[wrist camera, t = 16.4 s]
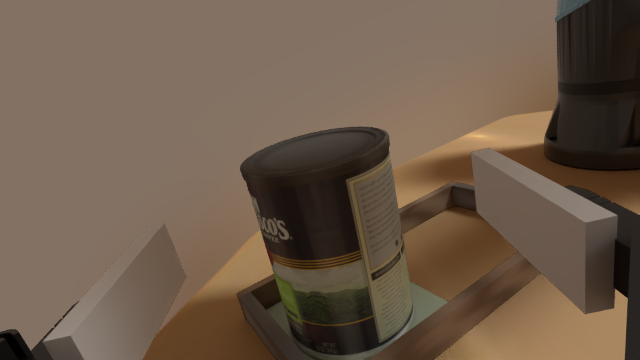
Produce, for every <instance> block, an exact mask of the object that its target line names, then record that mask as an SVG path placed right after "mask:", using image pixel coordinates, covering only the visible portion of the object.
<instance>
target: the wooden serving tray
mask: <svg viewBox="0 0 640 360" xmlns="http://www.w3.org/2000/svg"><path fill="white" fill-rule="evenodd" d="M453 205H457V206H461V207H465V208H468V209H472V210H476V211H477V209H476V199H475V189H474V186H472V185H467V184H463V183H458V182H453V181H452V182H450V183H448V184H446V185H444V186H442V187H440V188H439V189H437V190H435V191H433V192H431V193H429V194H427V195H425V196H423V197H421V198H419V199H417V200H415V201H413V202H412V203H410V204H408V205H406V206H404V207H402V208H400V209H398V210H399V216H400V222H401V228H402V234H403V233H405V232H407V231H408V230H410V229H412V228H414V227H416V226H417V225H419V224H421V223H423V222H424V221H426V220H428V219H430V218H432V217H433V216H435V215H437V214H439V213H440V212H442V211H444V210H446V209H448V208H449V207H451V206H453ZM540 273H541V272H540V271H539V270H538V269H537V268H536V267H535V266H533V265H532V264H531V263H530V262H529V261H528V260H527V259H526V258H525V257H524V256H523V255H522V254H521V253H520V252H519V251H518V252H516V253H515V254H514V255H512V256H511V257H510V258H508V259H507V260H505V261H504V262H503V263H501V264H500V265H499V266H497V267H496V268H494V269H493V270H492V271H490V272H489V273H488V274H486V275H485V276H483V277H482V278H481V279H479V280H478V281H477V282H475V283H474V284H472V285H471V286H470V287H468V288H467V289H466V290H464V291H463V292H461V293H460V294H459V295H457V296H456V297H455V298H453V299H452V300H450V301H449V302H448V303H446V304H445V305H443V306H442V307H441V308H439V309H438V310H437V311H435V312H434V313H432V314H431V315H430V316H428V317H427V318H426V319H424V320H423V321H421V322H420V323H419V324H417V325H416V326H415V327H413V328H412V329H410V330H409V331H408V332H406V333H405V334H404V335H402V336H401V337H399V338H398V339H397V340H395V341H394V342H393V343H391V344H390V345H388V346H387V347H386V348H384V349H383V350H382V351H380V352H379V353H377V354H376V355H375V356H373V357H372V358H371V359H369V360H433V359H435V358H436V357H437V356H438V355H440V354H441V353H442V352H443V351H445V350H446V349H447V348H448V347H450V346H451V345H452V344H453V343H455V342H456V341H457V340H458V339H459V338H461V337H462V336H463V335H464V334H466V333H467V332H468V331H469V330H471V329H472V328H473V327H474V326H476V325H477V324H478V323H479V322H481V321H482V320H483V319H484V318H485V317H487V316H488V315H489V314H490V313H492V312H493V311H494V310H495V309H497V308H498V307H499V306H500V305H502V304H503V303H504V302H505V301H507V300H508V299H509V298H510V297H512V296H513V295H514V294H515V293H516V292H518V291H519V290H520V289H521V288H523V287H524V286H525V285H526V284H528V283H529V282H530V281H531V280H533V279H534V278H535V277H536V276H538V275H539V274H540ZM237 296H238V299H239V302H240V305H241V308H242V310H243V313H244V316H245V318H246V319H247V320H248V322H249V323H250V325H251V326H252V327H253V329H254V330H255V331H256V333H257V334H258V336H259V337H260V338H261V340H262V341H263V342H264V344H265V345H266V346H267V348H268V349H269V351H270V352H271V353H272V355H273V356H274V357H275V359H276V360H309V359H308V358H307V357H306V356H305V355H304V354H303V352H302V351H301V350H300V349H299V348H298V347H297V345H296V344H295V343H294V342H293V341H292V340H291V338H290V337H289V336H288V335H287V334H286V333H285V331H284V330H283V329H282V328H281V327H280V326H279V325H278V323H277V322H276V321H275V320H274V319H273V318H272V316H271V315H270V314H269V313H268V312H267V311H266V309H268V308H270V307H272V306H273V305H275V304H277V303H279V302H281V301H282V299H281V295H280V292H279V289H278V286H277V282H276V279H275V275H274V274H273V275H271V276H269V277H267V278H265V279H263V280H261V281H259V282H257V283H255V284H254V285H252V286H250V287H248V288H246V289H244V290H242V291H240V292H238V293H237Z"/></svg>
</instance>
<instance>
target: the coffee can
mask: <svg viewBox="0 0 640 360" xmlns="http://www.w3.org/2000/svg"><path fill="white" fill-rule="evenodd" d="M389 145H390V143H389V135H388V133H387V132H386V131H384V130H382V129H378V128H373V127H346V128H337V129H329V130H324V131H319V132H314V133H310V134H306V135H302V136H298V137H294V138H291V139H288V140H285V141H282V142H279V143H276V144H274V145H271V146H269V147H266V148H264V149H262V150H260V151H258V152H256V153H255V154H253V155H251V156H250V157H249V158H247V159H246V160H245V161H244V162H243V163H242V164H241V167H240V171H241V173H242V176H243V178H244V180H245V181H246V183H247V187H248V191H249V193H250V196H251V199H252V203H253V207H254V209H255V212H256V216H257V219H258V222H259V225H260V229H261V232H262V236H263V239H264V243H265V247H266V249H267V253H268V256H269V259H270V262H271V266H272V269H273V272H274V275H275V279H276V282H277V286H278V289H279V292H280V295H281V299H282V302H283V305H284V309H285V312H286V316H287V319H288V322H289V327H290V333H291V336H292V339H293V341H294V342H295V343H296V345H297V346H298V347H299V348H300V349H301V350H302V351H303V352H305V353H306V354H308V355H310V356H312V357H314V358H316V359H319V360H366V359H370V358H372V357H373V356H375V355H376V354H377V353H379V352H380V351H382V350H383V349H384V348H386V347H387V346H388V345H390V344H391V343H393V342H394V341H395V340H397V339H398V338H399V337H401V336H402V335H404V334H405V333H406V332H408V331H409V330H410V328H411V326H412V324H413V322H414V319H415V309H416V308H415V302H414V299H413V295H412V290H411V284H410V278H409V271H408V265H407V259H406V253H405V247H404V241H403V234H402V228H401V222H400V216H399V210H398V204H397V197H396V191H395V184H394V178H393V172H392V166H391V160H390V154H389Z"/></svg>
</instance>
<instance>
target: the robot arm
mask: <svg viewBox="0 0 640 360" xmlns="http://www.w3.org/2000/svg"><path fill="white" fill-rule="evenodd" d="M555 22H557V57H558V99H557V102H556V105H555V108H554V111H553V114H552V117H551V120H550V122H549V125H548V128H547V131H546V134H545V137H544V153H545V155H546V157H548V158H549V159H551V160H553V161H555V162H557V163H561V164H564V165H569V166H574V167H581V168H590V169H635V168H640V0H557V16H556V18H555ZM471 160H472V170H473V179H474V189H475V199H476V209H477V213H478V214H479V215H480V216H482V217H483V218H484V219H485V220H486V221H487V222H488V223H489V224H490V225H491V226H492V227H493V228H494V229H495V230H496V231H497V232H498V233H500V234H501V235H502V236H503V237H504V238H505V239H506V240H507V241H508V242H509V243H510V244H511V245H512V246H513V247H514V248H515V249H517V250H518V251H519V252H520V253H521V254H522V255H523V256H524V257H525V258H526V259H527V260H528V261H529V262H530V263H531V264H532V265H533V266H535V267H536V268H537V269H538V270H539V271H540V272H541V273H542V274H543V275H544V276H545V277H546V278H547V279H548V280H549V281H550V282H551V283H553V284H554V285H555V286H556V287H557V288H558V289H559V290H560V291H561V292H562V293H563V294H564V295H565V296H566V297H567V298H568V299H569V300H571V301H572V302H573V303H574V304H575V305H576V306H577V307H578V308H579V309H580V310H581V311H582V312H583V313H584V314H588V313H593V312H598V311H603V310H608V309H612V308H614V300H615V289H616V290H618V291H619V292H620V293H622V294H623V295H624V296H626V297H627V298H628V307H627V326H626V348H625V360H640V215H638V214H636V213H634V212H632V211H630V210H628V209H626V208H624V207H622V206H620V205H618V204H616V203H611V201H610V200H607V199H605V198H603V197H602V198H601V197H600V196H599V195H597V194H595V193H593V192H591V191H589V190H587V189H583V188H578V187H574V186H565V187H563V186H561V185H559V184H557V183H555V182H553V181H551V180H550V179H548V178H546V177H544V176H542V175H540V174H538V173H536V172H534V171H532V170H531V169H529V168H527V167H525V166H523V165H521V164H519V163H517V162H515V161H513V160H512V159H510V158H508V157H506V156H504V155H502V154H500V153H498V152H496V151H494V150H493V149H491V148H486V149H482V150H478V151H473V152H471ZM185 279H186V274H185V272H184V269H183V267H182V265H181V262H180V260H179V257H178V255H177V252H176V250H175V247H174V245H173V243H172V240H171V238H170V235H169V233H168V230H167V228H166V226H165V223H161V224H157V225H153V226H148V227H147V228H146V229H145V230H144V231H143V232H142V233H141V234H140V235H139V236H138V237H137V238H136V240H135V241H134V242H133V243H132V244H131V245H130V246H129V247H128V248H127V249H126V251H125V252H124V253H123V254H122V255H121V256H120V257H119V259H117V261H116V262H115V263H114V264H113V265H112V266H111V267H110V268H109V269H108V270H107V271H106V273H105V274H104V275H103V276H102V277H101V278H100V279H99V280H98V281H97V282H96V284H95V285H94V286H93V287H92V288H91V289H90V290H89V291H88V292H87V293H86V294H85V296H84V297H83V298H82V299H81V300H80V301H78V302H77V303H76V304H74V305H73V306H72V307H71V308H70V309H69V310H68V311H67V313H66V314H65V315H64V316H63V318H62V319H60V320H59V321H58V322H57V323H56V324H55V327H54V328H52V329H51V330H50V331H49V332H48V333H47V334H46V335H45V336H44V338H43V339H42V340H41V341H40V342H39V343H38V344H37V345H36V346H35V347H34V348H33V349H32V351H30V349H29V348H28V346H27V345H26V343H25V341H24V340H23V338H22V337H21V335H20V333H19V332H18V331H17V330H16V329H15V330H14V329H12V330H11V329H10V330H6V331H2V332H0V360H143V358H144V356H145V354H146V352H147V350H148V349H149V347H150V345H151V343H152V341H153V339H154V337H155V335H156V334H157V332H158V330H159V328H160V326H161V324H162V322H163V320H164V319H165V317H166V315H167V313H168V311H169V309H170V307H171V305H172V304H173V302H174V299H175V298H176V296H177V294H178V292H179V290H180V289H181V286H182V285H183V283H184V281H185Z"/></svg>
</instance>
